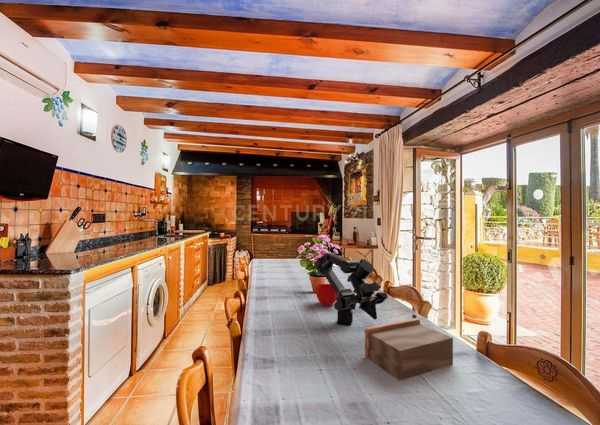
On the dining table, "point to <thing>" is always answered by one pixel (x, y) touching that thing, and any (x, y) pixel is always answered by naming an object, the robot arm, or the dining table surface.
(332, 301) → the ceramic cup
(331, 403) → the dining table surface
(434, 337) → the cabinet
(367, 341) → the drawer
